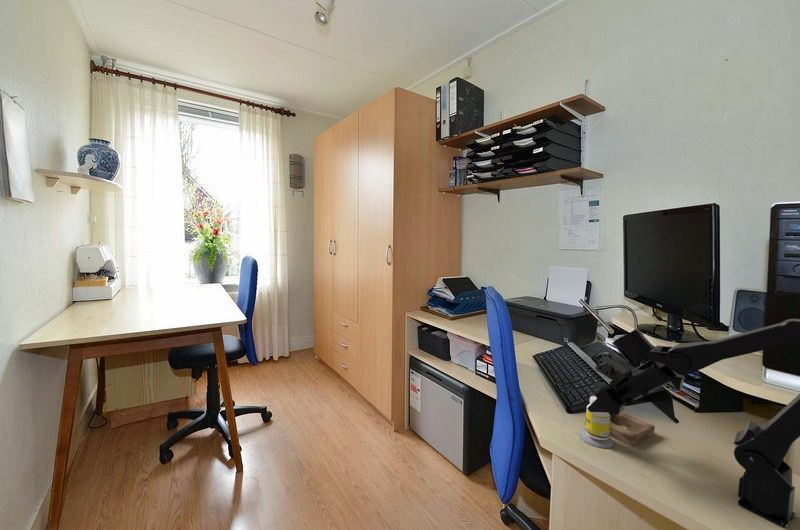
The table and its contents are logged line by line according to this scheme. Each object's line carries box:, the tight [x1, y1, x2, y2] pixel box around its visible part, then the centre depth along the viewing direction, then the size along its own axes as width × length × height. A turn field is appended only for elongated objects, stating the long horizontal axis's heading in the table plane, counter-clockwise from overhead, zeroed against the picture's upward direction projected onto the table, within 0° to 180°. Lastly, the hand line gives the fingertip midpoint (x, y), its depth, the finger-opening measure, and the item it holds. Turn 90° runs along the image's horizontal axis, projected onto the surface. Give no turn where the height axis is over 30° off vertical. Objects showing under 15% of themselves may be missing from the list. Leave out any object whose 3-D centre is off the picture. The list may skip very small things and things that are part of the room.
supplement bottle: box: [585, 395, 610, 440], centre depth 88 cm, size 5×5×10 cm
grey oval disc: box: [578, 428, 615, 449], centre depth 89 cm, size 8×8×1 cm
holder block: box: [584, 411, 656, 447], centre depth 94 cm, size 12×12×2 cm
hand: (592, 406), depth 89 cm, fingers closed on supplement bottle, 5 cm apart
